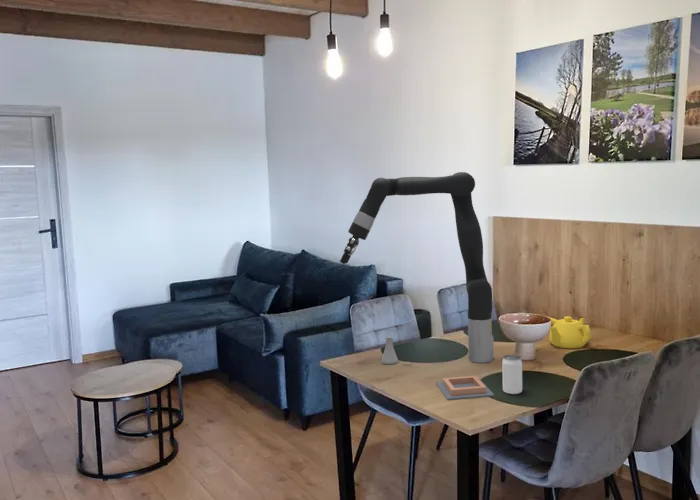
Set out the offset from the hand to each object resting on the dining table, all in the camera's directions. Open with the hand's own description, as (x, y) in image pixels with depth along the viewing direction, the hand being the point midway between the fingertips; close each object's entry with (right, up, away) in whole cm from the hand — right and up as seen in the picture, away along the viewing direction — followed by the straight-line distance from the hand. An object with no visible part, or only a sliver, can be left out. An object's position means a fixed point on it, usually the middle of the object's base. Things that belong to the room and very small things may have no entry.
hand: (343, 262), depth 235 cm
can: (+58, -44, -28) cm, 78 cm away
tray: (+42, -44, -25) cm, 66 cm away
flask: (+19, -41, +10) cm, 46 cm away
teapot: (+95, -35, +22) cm, 104 cm away
